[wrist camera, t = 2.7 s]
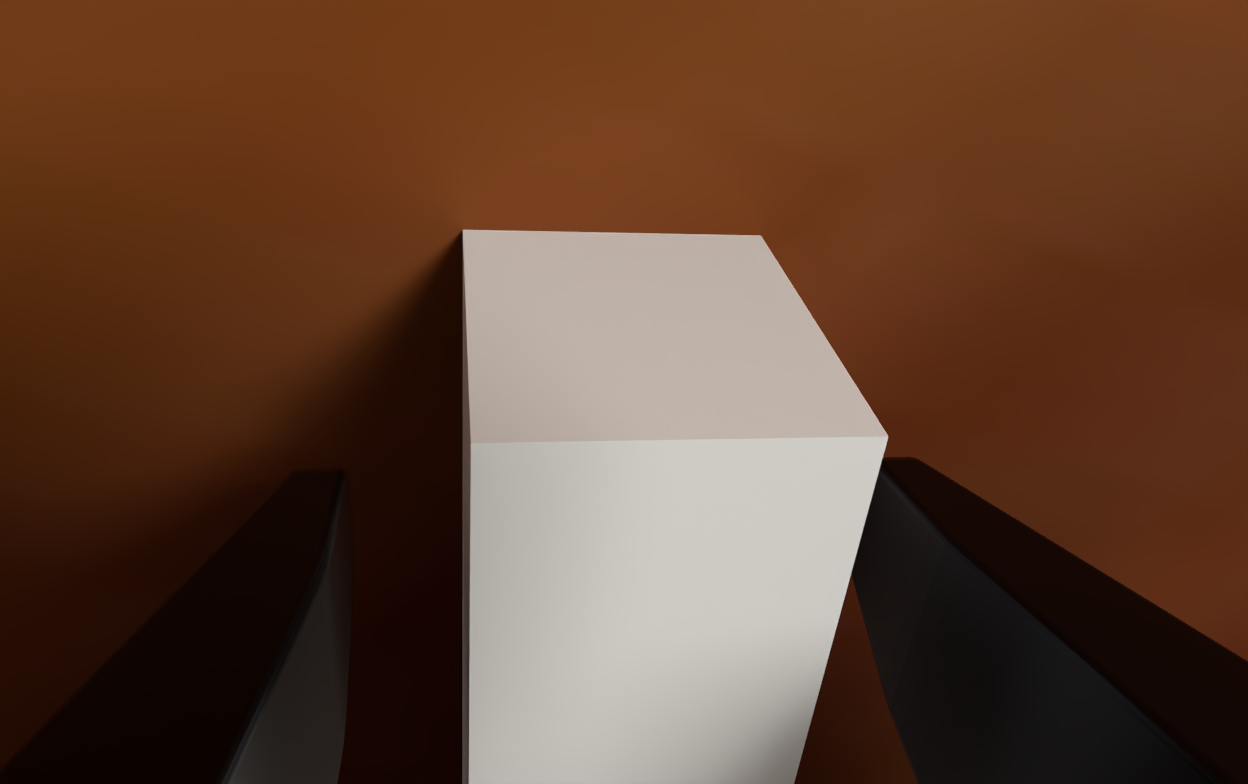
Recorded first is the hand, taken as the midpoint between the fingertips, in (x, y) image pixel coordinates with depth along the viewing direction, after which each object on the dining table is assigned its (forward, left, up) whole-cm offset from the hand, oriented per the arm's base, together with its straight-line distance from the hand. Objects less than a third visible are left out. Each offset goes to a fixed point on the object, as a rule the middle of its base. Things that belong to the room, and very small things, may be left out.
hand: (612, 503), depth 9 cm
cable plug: (0, -8, -1) cm, 8 cm away
